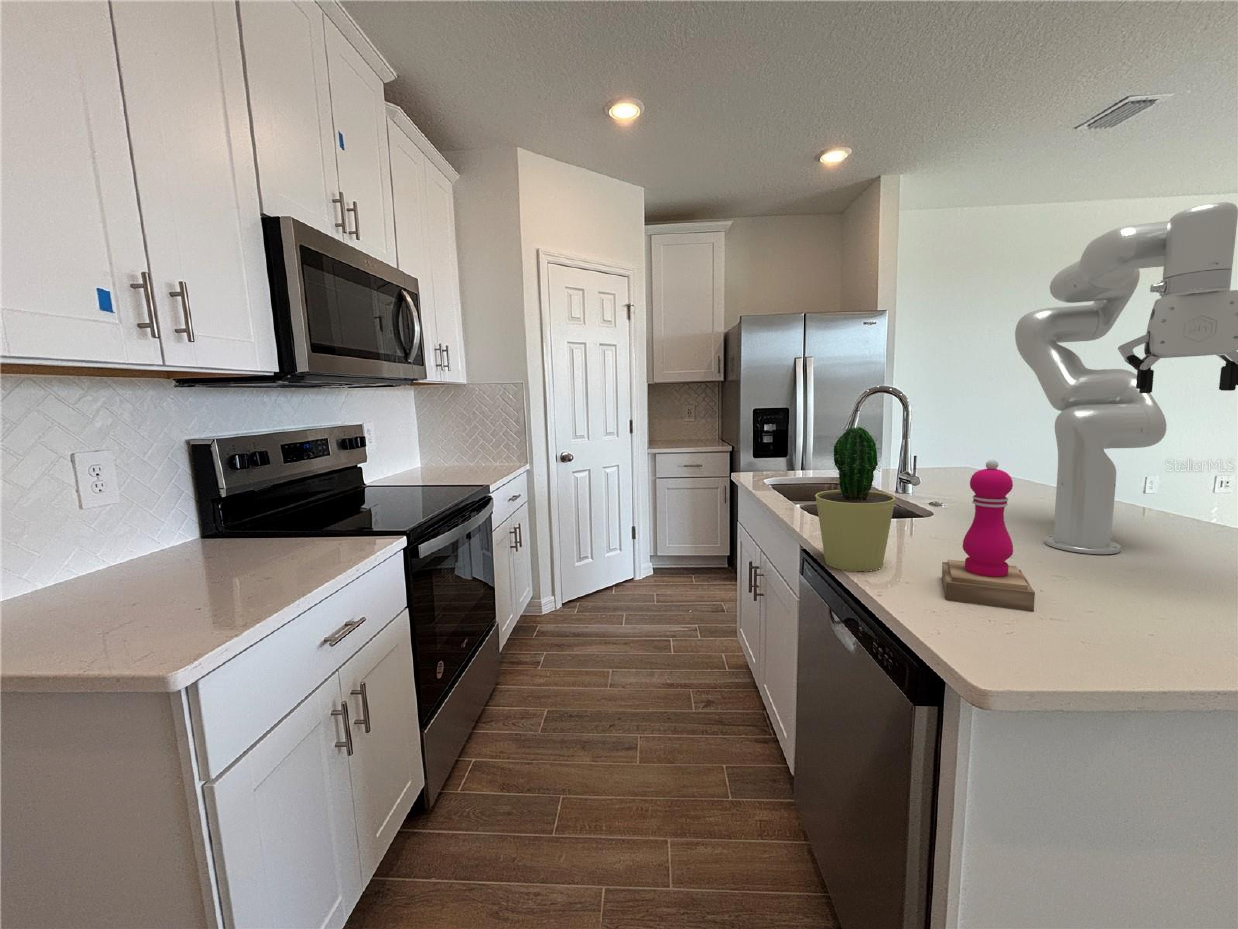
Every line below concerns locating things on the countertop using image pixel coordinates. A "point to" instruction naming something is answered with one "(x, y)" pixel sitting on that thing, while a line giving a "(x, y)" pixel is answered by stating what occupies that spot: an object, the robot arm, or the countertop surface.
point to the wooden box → (987, 587)
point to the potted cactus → (855, 507)
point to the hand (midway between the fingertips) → (1184, 391)
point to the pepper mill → (989, 523)
